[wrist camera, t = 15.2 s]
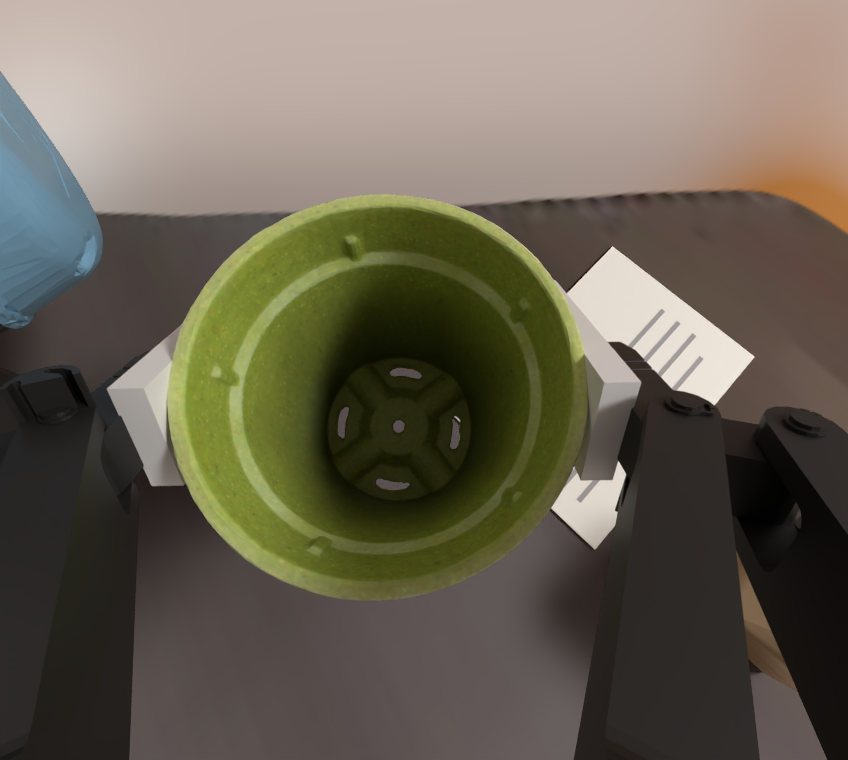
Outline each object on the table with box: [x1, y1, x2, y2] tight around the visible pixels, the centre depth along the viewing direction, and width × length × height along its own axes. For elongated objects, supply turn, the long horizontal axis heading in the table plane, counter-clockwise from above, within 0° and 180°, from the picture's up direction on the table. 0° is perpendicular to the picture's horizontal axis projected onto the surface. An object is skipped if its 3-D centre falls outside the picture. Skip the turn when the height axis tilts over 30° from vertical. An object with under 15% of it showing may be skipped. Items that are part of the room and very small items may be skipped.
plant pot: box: [167, 194, 588, 601], centre depth 14 cm, size 9×9×9 cm
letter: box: [455, 246, 754, 550], centre depth 29 cm, size 12×17×1 cm
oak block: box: [736, 551, 797, 691], centre depth 21 cm, size 6×6×9 cm
